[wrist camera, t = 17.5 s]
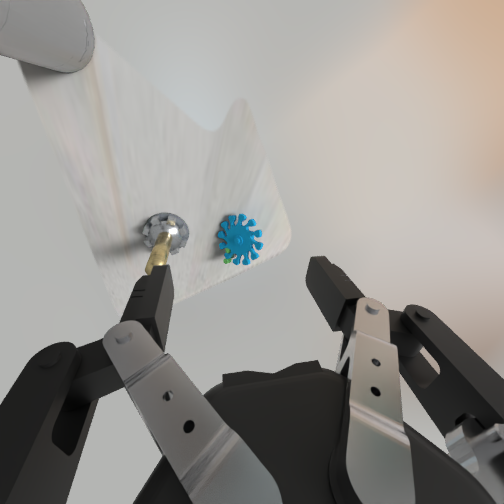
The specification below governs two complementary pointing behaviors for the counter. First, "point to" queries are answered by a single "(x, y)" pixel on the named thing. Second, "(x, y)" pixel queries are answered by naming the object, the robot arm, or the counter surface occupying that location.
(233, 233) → the blue splat disc
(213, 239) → the counter surface
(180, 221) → the pad
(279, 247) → the counter surface
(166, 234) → the gear
